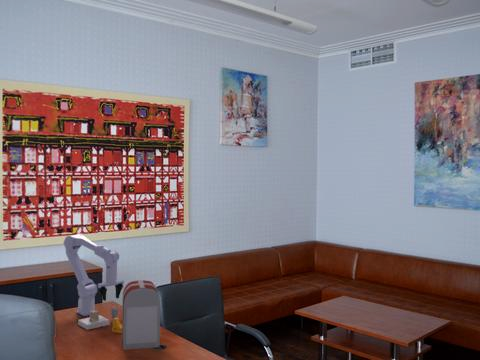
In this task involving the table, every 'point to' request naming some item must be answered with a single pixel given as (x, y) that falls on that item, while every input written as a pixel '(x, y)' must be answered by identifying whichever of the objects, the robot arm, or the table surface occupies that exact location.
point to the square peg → (94, 315)
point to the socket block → (93, 323)
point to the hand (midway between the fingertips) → (110, 299)
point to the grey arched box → (140, 315)
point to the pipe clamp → (117, 325)
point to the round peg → (114, 314)
